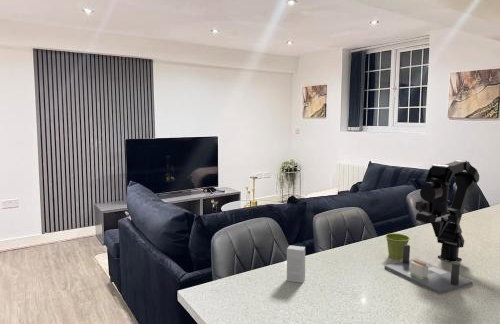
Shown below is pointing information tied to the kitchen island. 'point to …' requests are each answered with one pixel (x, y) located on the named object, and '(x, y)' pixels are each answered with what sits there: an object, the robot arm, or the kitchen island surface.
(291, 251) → the skincare box
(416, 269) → the orange striped block
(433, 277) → the panel
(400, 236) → the plant pot
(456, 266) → the cord post
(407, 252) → the cord post
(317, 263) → the kitchen island surface
